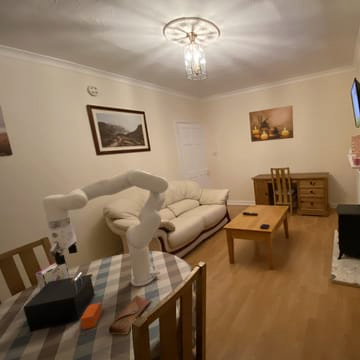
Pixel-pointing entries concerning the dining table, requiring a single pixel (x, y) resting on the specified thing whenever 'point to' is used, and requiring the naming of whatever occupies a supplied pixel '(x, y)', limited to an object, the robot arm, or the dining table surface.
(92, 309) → the packet
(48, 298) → the box lid
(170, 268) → the dining table surface
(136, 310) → the sunglasses case
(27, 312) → the black box
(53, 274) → the candy bar box
